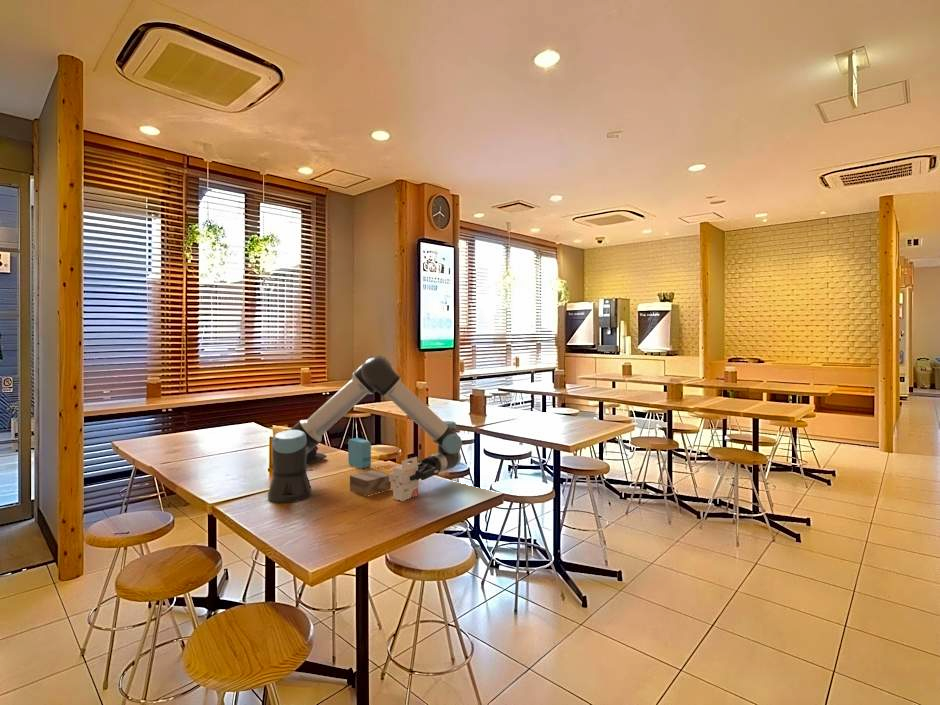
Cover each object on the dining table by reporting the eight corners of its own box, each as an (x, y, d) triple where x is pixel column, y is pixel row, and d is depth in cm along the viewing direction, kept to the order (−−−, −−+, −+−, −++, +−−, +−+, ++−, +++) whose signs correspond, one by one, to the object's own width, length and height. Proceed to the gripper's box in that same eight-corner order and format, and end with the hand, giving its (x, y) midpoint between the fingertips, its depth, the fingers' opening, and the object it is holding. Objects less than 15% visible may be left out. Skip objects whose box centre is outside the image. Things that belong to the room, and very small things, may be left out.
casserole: (280, 471, 217) (279, 452, 216) (264, 463, 230) (264, 445, 230) (333, 462, 233) (333, 444, 233) (316, 455, 247) (316, 438, 247)
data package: (371, 467, 223) (371, 441, 223) (362, 469, 220) (362, 442, 220) (356, 462, 232) (356, 437, 232) (348, 464, 229) (348, 438, 229)
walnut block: (367, 497, 184) (366, 481, 183) (349, 490, 191) (349, 475, 191) (390, 490, 192) (390, 475, 191) (373, 484, 199) (373, 469, 199)
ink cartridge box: (408, 493, 188) (408, 454, 187) (418, 495, 185) (418, 456, 184) (392, 499, 181) (392, 458, 180) (402, 501, 178) (402, 460, 177)
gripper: (453, 477, 193) (417, 493, 173) (415, 470, 203) (376, 485, 183) (453, 458, 193) (417, 472, 173) (415, 452, 202) (376, 465, 182)
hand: (396, 479), depth 178 cm, fingers closed on ink cartridge box, 5 cm apart
